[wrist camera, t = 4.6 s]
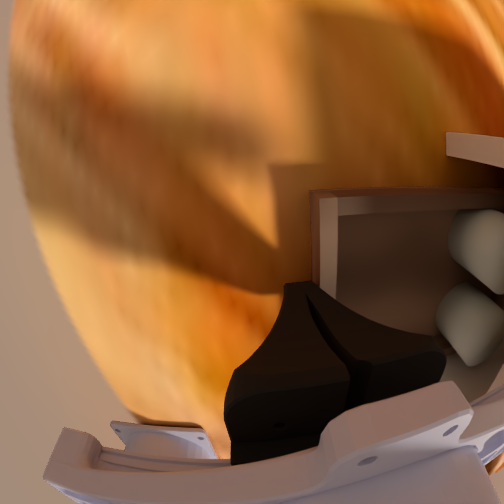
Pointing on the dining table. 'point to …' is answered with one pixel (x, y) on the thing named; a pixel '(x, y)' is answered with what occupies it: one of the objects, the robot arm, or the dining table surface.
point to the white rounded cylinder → (470, 323)
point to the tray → (393, 251)
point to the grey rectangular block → (500, 362)
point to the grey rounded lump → (479, 245)
